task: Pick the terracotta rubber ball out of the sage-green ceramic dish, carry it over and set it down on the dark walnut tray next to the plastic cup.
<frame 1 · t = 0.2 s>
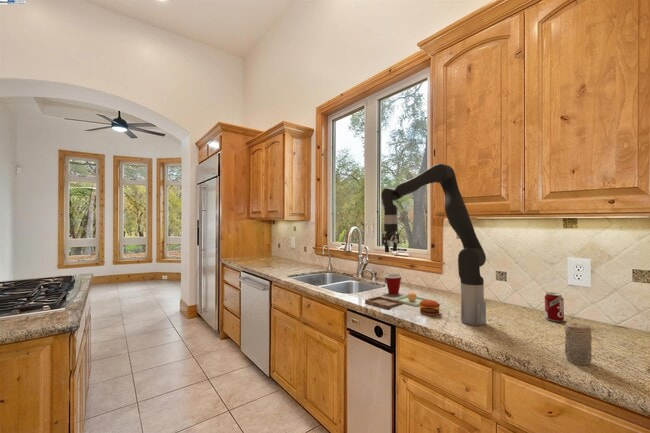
hand: (391, 251, 164), 28 cm above the worktop, tool pointing down, fingers open, 8 cm apart
ball: (412, 301, 162), point 1 cm above the worktop, touching dish
dish: (412, 302, 162), on the worktop
plastic cup: (393, 294, 180), on the worktop
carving: (578, 362, 92), on the worktop
soda can: (554, 320, 132), on the worktop
tray: (383, 304, 159), on the worktop
hamburger: (429, 314, 142), on the worktop
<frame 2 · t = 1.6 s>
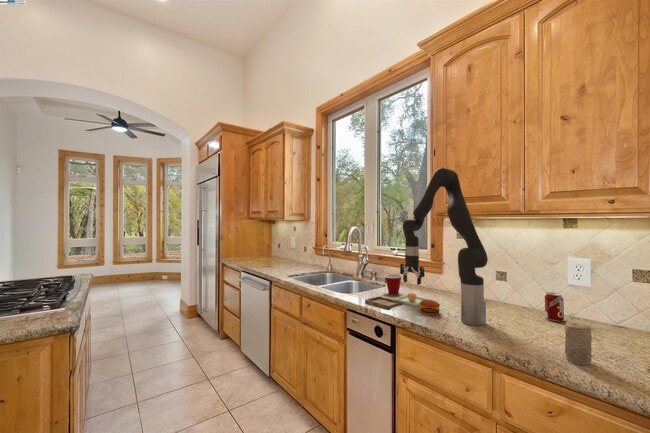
hand: (412, 283, 163), 11 cm above the worktop, tool pointing down, fingers open, 8 cm apart
nothing on the worktop moved.
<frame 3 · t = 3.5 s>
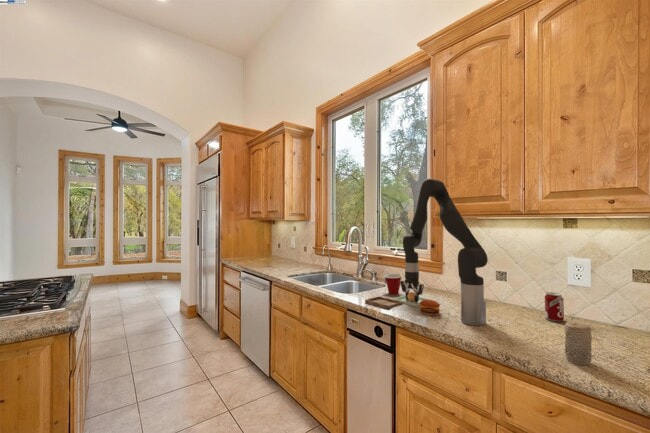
hand: (412, 300, 162), 1 cm above the worktop, tool pointing down, fingers closed on ball, 5 cm apart
ball: (412, 301, 162), point 1 cm above the worktop, touching dish, gripper
everything else where it was.
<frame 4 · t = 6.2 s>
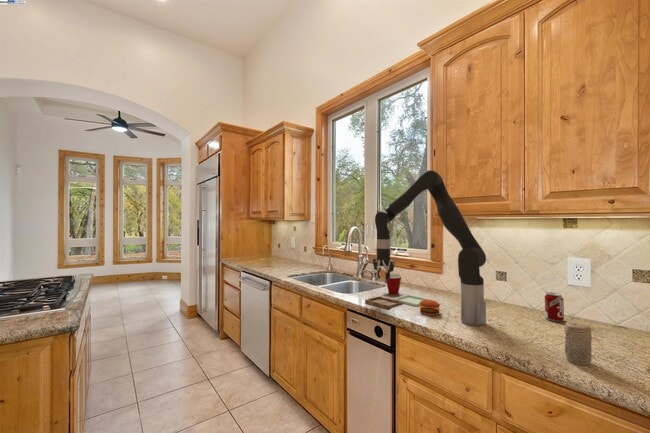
hand: (383, 278, 159), 14 cm above the worktop, tool pointing down, fingers closed on ball, 5 cm apart
ball: (383, 278, 159), point 14 cm above the worktop, touching gripper
everything else where it was.
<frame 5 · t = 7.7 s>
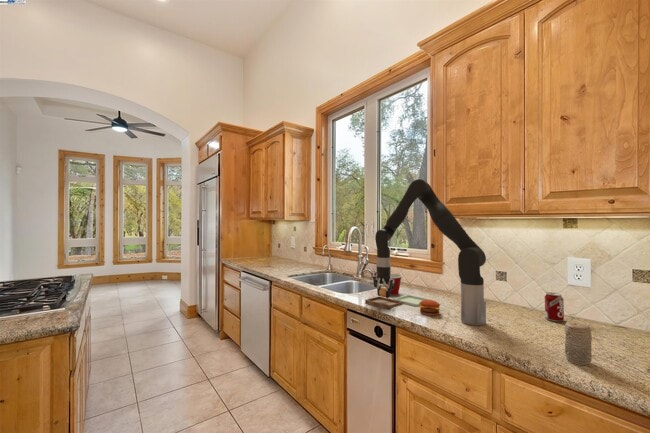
hand: (383, 296, 159), 4 cm above the worktop, tool pointing down, fingers closed on ball, 5 cm apart
ball: (383, 296, 159), point 4 cm above the worktop, touching gripper
everything else where it was.
when the fingers open (2 cm above the worktop, at t = 9.0 s): ball drops 2 cm, resting on tray.
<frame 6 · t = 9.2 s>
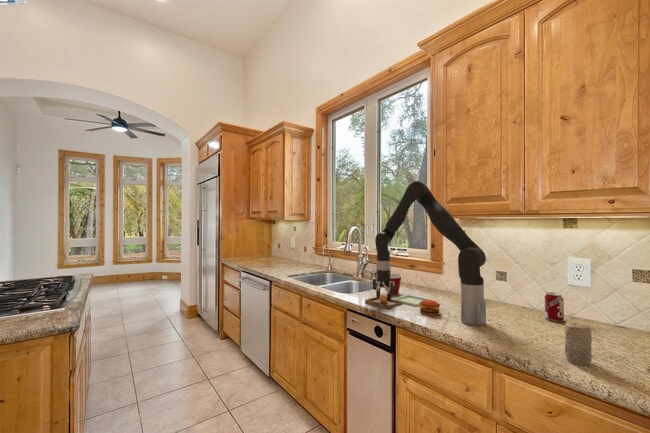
hand: (383, 299, 159), 3 cm above the worktop, tool pointing down, fingers open, 6 cm apart
ball: (383, 303, 159), point 1 cm above the worktop, touching tray
everything else where it was.
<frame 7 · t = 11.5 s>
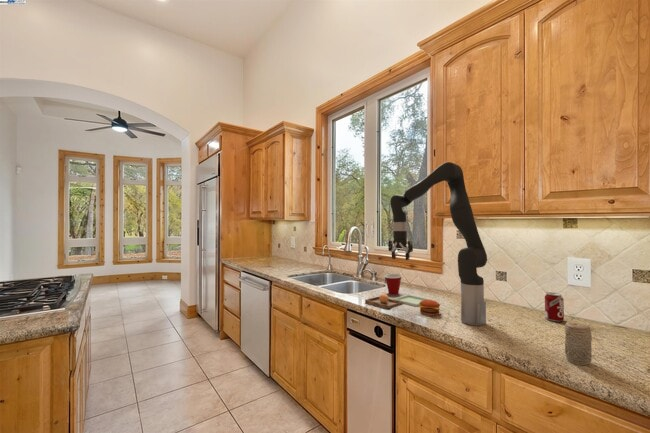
hand: (400, 259, 162), 24 cm above the worktop, tool pointing down, fingers open, 8 cm apart
nothing on the worktop moved.
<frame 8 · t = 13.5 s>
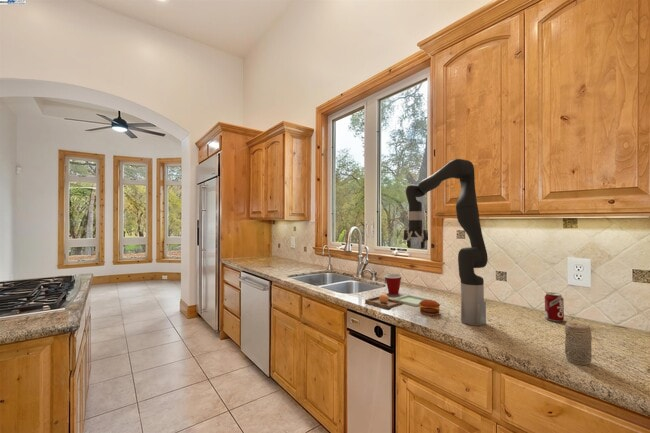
hand: (415, 248, 166), 30 cm above the worktop, tool pointing down, fingers open, 8 cm apart
nothing on the worktop moved.
at the end: ball inside the target area on the tray (0.1 cm from its centre), point 0.6 cm above the tray's base; the gripper is holding nothing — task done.
